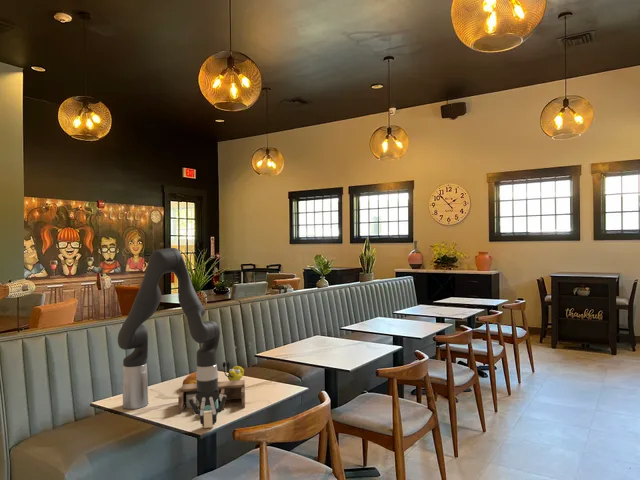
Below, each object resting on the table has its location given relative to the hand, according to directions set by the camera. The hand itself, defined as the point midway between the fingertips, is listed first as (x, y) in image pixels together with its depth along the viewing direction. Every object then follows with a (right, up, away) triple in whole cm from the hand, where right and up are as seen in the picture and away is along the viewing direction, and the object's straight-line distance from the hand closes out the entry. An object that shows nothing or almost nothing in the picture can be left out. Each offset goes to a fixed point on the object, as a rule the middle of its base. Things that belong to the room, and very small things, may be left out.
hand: (208, 424), depth 170 cm
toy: (+2, -1, +42) cm, 42 cm away
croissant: (-15, -2, +48) cm, 50 cm away
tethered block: (-1, -1, +7) cm, 8 cm away
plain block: (-12, -2, +24) cm, 27 cm away
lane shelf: (-3, -1, +23) cm, 23 cm away
